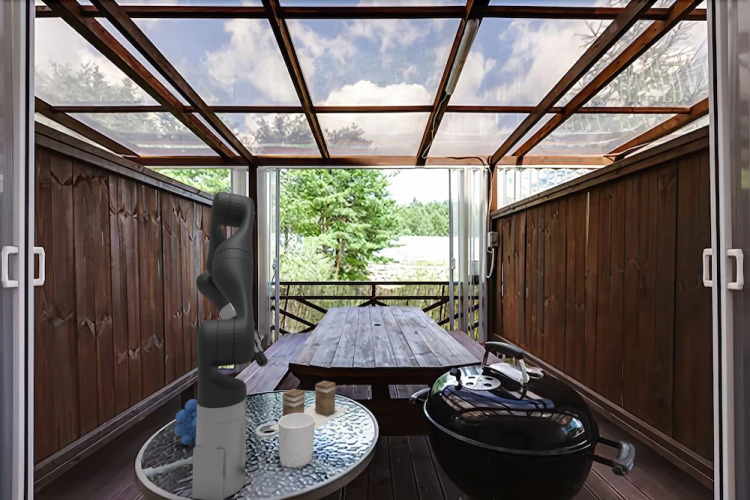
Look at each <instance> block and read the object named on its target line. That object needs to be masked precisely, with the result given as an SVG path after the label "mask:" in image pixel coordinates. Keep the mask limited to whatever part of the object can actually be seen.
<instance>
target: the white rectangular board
mask: <svg viewBox="0 0 750 500" xmlns="http://www.w3.org/2000/svg"><path fill="white" fill-rule="evenodd" d="M348 410H349V408H346V407H343V406H338V405H335V411H333V412H332V413H330V414H328V415H327V416H326V415H322V414H319V413H315V403H314V404H312V405H310V406H308V407H306V408H304V413H307V414H310V415H312V416H313V417H314V418H315V424H314V431H316V430H318V428H320V427H321V426H323V425H325V424H327V423H328V422H330V421H331V420H333V419H335V418H336V417H338V416H339V415H341V414H343V413H345V412H346V411H348ZM269 429H271V430H274V431H278V432H279V422H277V423H275V424H273V425H271V426H269Z"/></svg>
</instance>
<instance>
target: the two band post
mask: <svg viewBox="0 0 750 500" xmlns="http://www.w3.org/2000/svg"><path fill="white" fill-rule="evenodd" d="M305 397H306V394H305V391H303V390H300V389H296V388H292V389H290V390H288V391H284V392H283V393H282V401H281V403H282V417H283V416H286V415H288V414H293V413H304V409H305V402H306V398H305Z"/></svg>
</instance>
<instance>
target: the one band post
mask: <svg viewBox="0 0 750 500" xmlns="http://www.w3.org/2000/svg"><path fill="white" fill-rule="evenodd" d="M336 388H337V387H336V382H333V381H327V380H322V381H321V382H318V383H315V387H314V389H315V400H314V401H315V403H314V404H315V413H319V414H322V415H326V416H327V415H328V414H330V413H332V412H333V411H335V406H336Z"/></svg>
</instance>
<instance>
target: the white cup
mask: <svg viewBox="0 0 750 500" xmlns="http://www.w3.org/2000/svg"><path fill="white" fill-rule="evenodd" d="M278 423H279V431H278V446H279V450H278V451H279V457H280V458H279V459H280V460H279V461H280V463H281V464H282V466H285V467H286V468H299V467H304V466H306V465H308V464H309V463H310V462H311V461H312V458H313V457H312V456H313V452H314V439H315V437H314V435H315V430H314V424H315V418H314V417H313V416H312V415H310V414H307V413H293V414H288V415H286V416H283V415H282V416H281V418H279V420H278Z"/></svg>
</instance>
